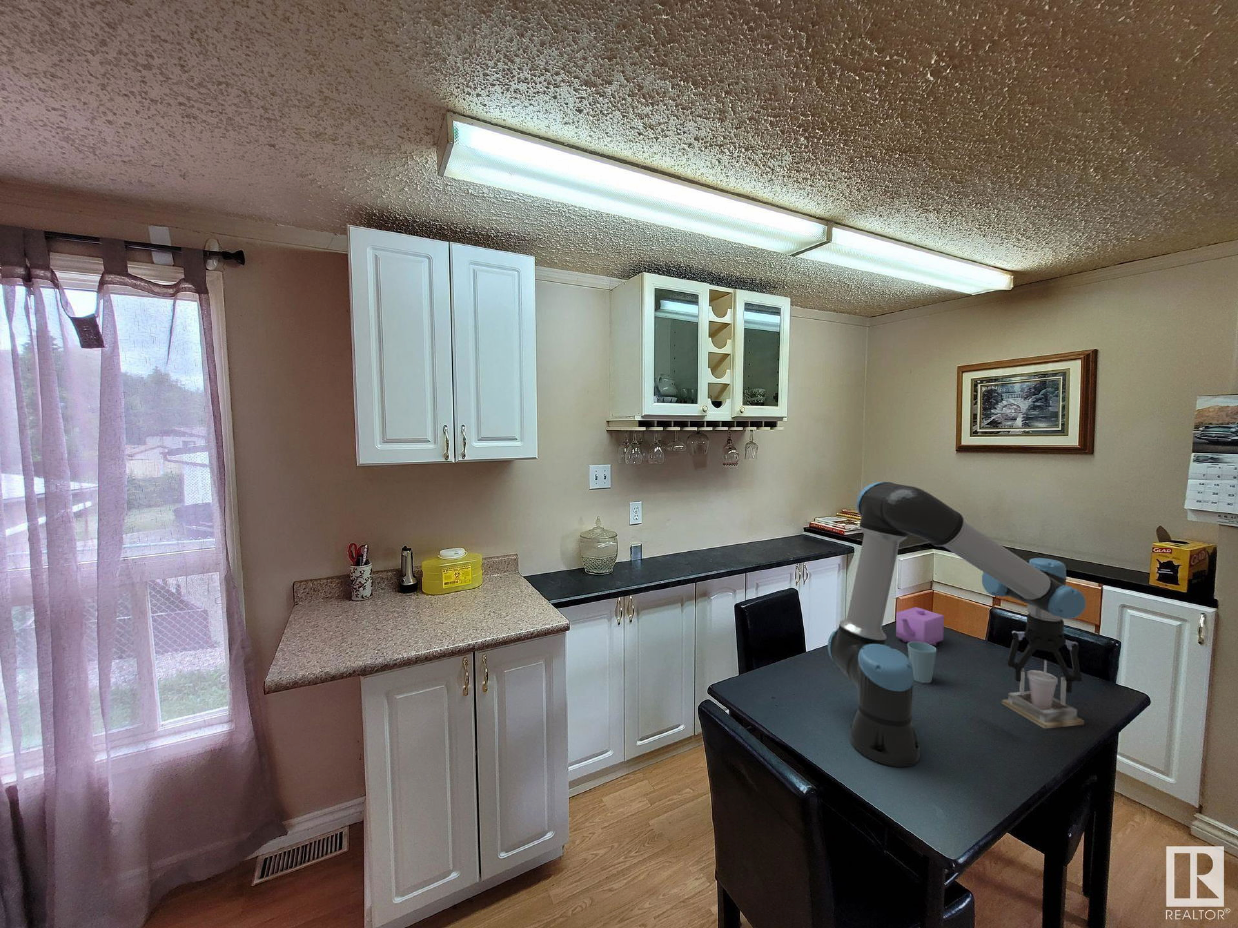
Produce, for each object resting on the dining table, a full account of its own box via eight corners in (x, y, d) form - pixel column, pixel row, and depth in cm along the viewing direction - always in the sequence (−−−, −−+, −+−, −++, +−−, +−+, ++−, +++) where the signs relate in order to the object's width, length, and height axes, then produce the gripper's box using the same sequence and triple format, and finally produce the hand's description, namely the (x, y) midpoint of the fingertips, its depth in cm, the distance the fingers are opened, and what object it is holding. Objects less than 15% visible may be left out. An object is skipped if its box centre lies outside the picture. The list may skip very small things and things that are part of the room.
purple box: (919, 632, 186) (920, 601, 185) (947, 642, 177) (948, 609, 176) (886, 643, 177) (887, 610, 176) (913, 654, 168) (914, 619, 167)
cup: (941, 681, 149) (942, 649, 148) (925, 687, 146) (926, 653, 145) (917, 671, 156) (918, 639, 155) (901, 676, 153) (902, 644, 152)
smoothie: (1060, 718, 127) (1062, 667, 127) (1029, 712, 130) (1030, 662, 130) (1052, 706, 133) (1054, 657, 132) (1022, 701, 136) (1024, 652, 135)
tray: (1044, 728, 125) (1045, 715, 125) (1001, 703, 137) (1002, 691, 137) (1083, 724, 127) (1084, 711, 126) (1038, 699, 138) (1038, 687, 138)
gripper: (1095, 620, 127) (1091, 703, 128) (996, 604, 139) (993, 680, 141) (1101, 629, 121) (1097, 717, 122) (997, 612, 133) (994, 691, 135)
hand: (1041, 697), depth 131 cm, fingers open, 8 cm apart
